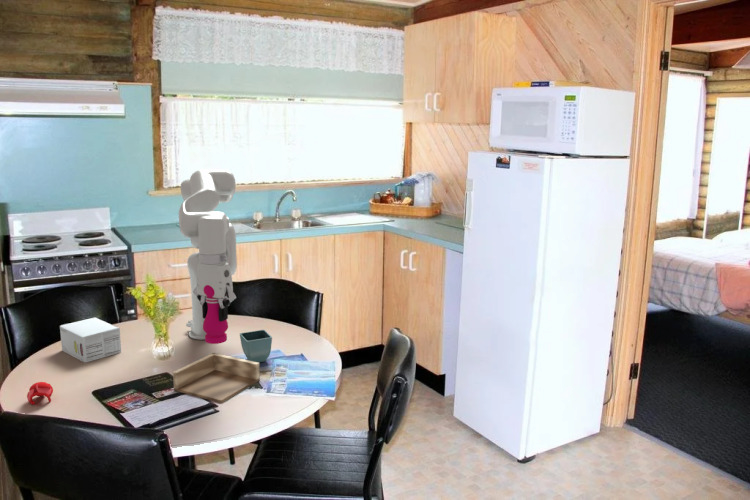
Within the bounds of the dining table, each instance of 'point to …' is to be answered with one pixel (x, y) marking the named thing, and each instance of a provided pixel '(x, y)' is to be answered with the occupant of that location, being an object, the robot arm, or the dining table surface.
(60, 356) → the dining table surface
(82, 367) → the dining table surface
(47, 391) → the red curved piece
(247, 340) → the flower pot
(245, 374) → the corner fence
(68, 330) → the supplement box
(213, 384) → the board
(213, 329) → the pepper mill
